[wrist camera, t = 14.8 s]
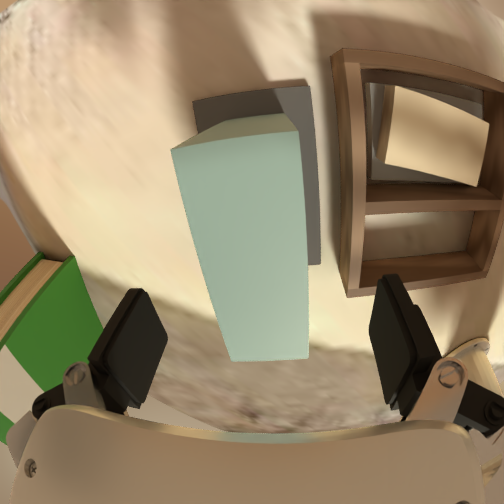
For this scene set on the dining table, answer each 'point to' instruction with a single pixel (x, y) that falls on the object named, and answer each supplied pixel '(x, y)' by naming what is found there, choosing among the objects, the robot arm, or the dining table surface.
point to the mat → (301, 115)
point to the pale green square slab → (250, 232)
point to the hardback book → (42, 333)
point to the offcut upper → (430, 136)
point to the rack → (414, 194)
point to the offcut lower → (373, 117)
